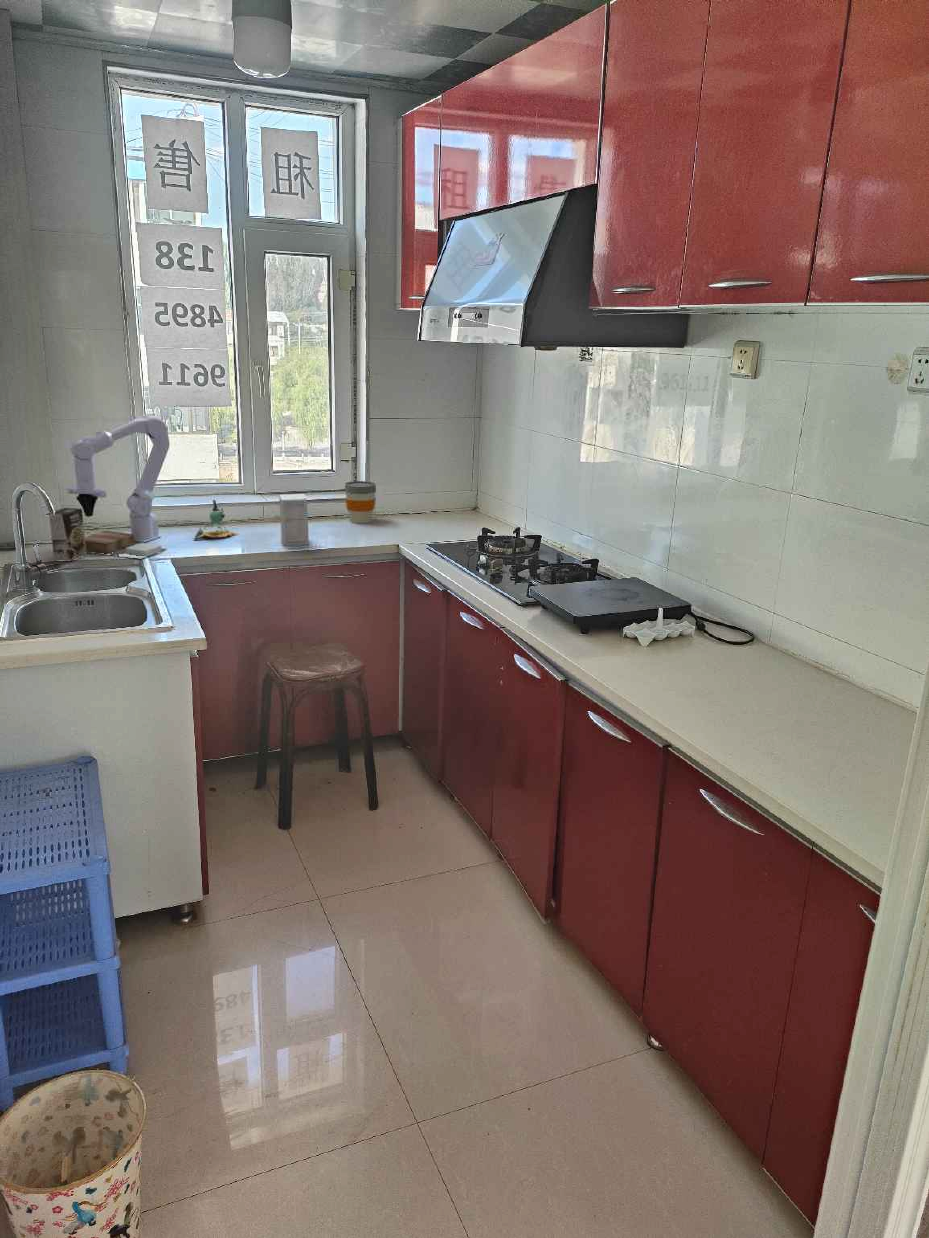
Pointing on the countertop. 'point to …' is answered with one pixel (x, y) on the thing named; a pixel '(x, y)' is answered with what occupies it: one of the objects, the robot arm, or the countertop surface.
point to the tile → (143, 549)
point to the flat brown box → (108, 542)
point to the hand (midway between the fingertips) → (89, 516)
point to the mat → (129, 554)
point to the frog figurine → (215, 517)
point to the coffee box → (68, 534)
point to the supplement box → (294, 519)
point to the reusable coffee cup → (360, 500)
